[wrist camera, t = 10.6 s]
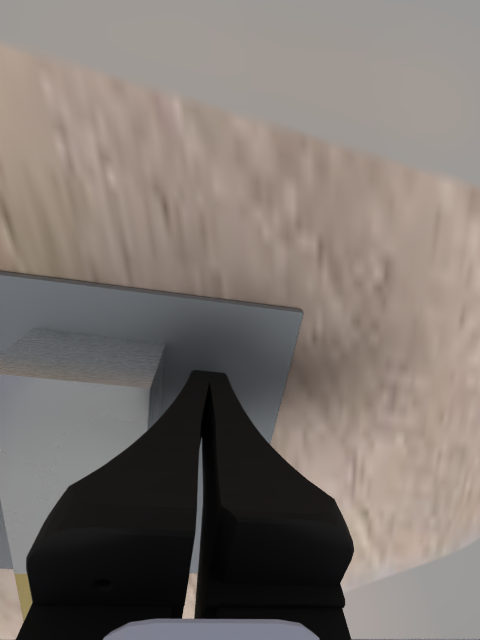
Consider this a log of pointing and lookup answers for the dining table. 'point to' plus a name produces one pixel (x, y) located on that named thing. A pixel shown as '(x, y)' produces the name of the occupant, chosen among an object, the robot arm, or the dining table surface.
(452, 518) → the dining table surface
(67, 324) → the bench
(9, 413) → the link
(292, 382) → the dining table surface
